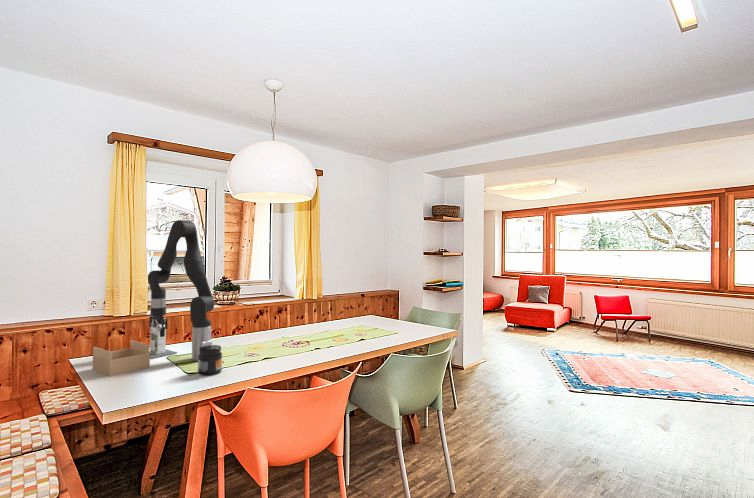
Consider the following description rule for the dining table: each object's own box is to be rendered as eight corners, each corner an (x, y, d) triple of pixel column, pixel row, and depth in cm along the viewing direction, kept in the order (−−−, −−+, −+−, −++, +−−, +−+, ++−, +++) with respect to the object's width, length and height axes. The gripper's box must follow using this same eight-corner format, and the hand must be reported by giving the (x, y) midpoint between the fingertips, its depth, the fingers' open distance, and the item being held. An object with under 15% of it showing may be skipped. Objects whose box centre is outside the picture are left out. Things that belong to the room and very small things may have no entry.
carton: (149, 367, 196) (149, 344, 196) (110, 376, 181) (110, 352, 181) (131, 361, 206) (131, 340, 206) (92, 369, 191) (92, 346, 191)
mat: (177, 353, 222) (177, 352, 222) (151, 358, 211) (151, 357, 211) (163, 349, 230) (163, 348, 230) (138, 355, 218) (138, 353, 218)
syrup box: (149, 353, 219) (149, 327, 219) (159, 351, 224) (160, 325, 224) (155, 354, 216) (156, 328, 216) (166, 352, 222) (166, 326, 222)
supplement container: (226, 370, 192) (226, 345, 192) (213, 376, 182) (213, 350, 182) (206, 368, 194) (207, 344, 194) (192, 375, 184) (193, 349, 184)
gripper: (172, 306, 220) (171, 336, 220) (158, 304, 227) (157, 333, 227) (158, 308, 213) (158, 338, 213) (144, 306, 221) (144, 335, 221)
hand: (158, 335), depth 220 cm, fingers open, 8 cm apart
